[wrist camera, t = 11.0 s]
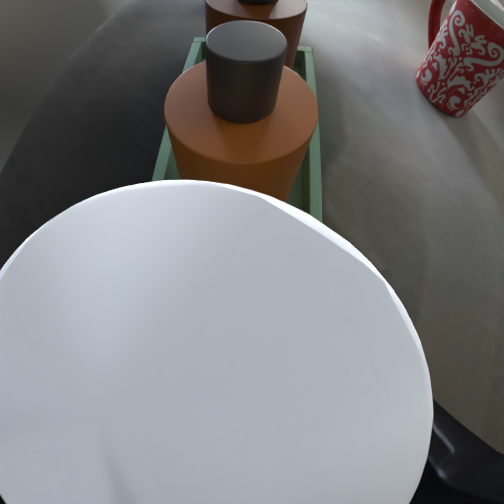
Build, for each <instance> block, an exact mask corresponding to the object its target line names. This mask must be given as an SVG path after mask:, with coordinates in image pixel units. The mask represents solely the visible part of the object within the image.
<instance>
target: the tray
mask: <svg viewBox="0 0 504 504" xmlns="http://www.w3.org/2000/svg"><path fill="white" fill-rule="evenodd" d="M203 61H206V59H205V38H200V37H195V38H194V41H193V44H192V46H191V49H190V52H189V55H188V58H187V60H186V63H185V66H184V69H183V72H182V74H183V73H184V72H185V71H187V70H188V69H189V68H191V67H193V66H195V65H196V64H199V63H201V62H203ZM292 70H293V71H294V72H296V73H297V74H298V75H299V76H300V77H302V78H303V80H304V81H305V82H306V83H307V84H308V85H309V87H310V88H311V89H312V91H313V93H314V95H315V98H316V101H317V92H316V80H315V69H314V59H313V49H312V48H308V47H303V46H298V48H297V52H296V56H295V60H294V65H293V69H292ZM162 180H180V177H179V173H178V169H177V165H176V162H175V158H174V154H173V150H172V146H171V142H170V138H169V134H168V130H167V126H166V127H165V131H164V135H163V138H162V142H161V146H160V150H159V154H158V158H157V162H156V166H155V170H154V174H153V178H152V182H155V181H162ZM286 204H289V205H291V206H293V207H295V208H297V209H299V210H301V211H303V212H305V213H307V214H309V215H310V216H312V217H313V218H315V219H316V220H318V221H319V222H321V223H322V187H321V158H320V137H319V120H318V121H317V125H316V128H315V131H314V133H313V136H312V138H311V141H310V143H309V146H308V148H307V151H306V153H305V156H304V158H303V161H302V163H301V166H300V168H299V171H298V173H297V176H296V178H295V181H294V183H293V186H292V188H291V191H290V193H289V196H288V198H287V200H286Z"/></svg>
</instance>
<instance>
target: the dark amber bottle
mask: <svg viewBox="0 0 504 504" xmlns="http://www.w3.org/2000/svg"><path fill="white" fill-rule="evenodd" d="M205 9H206V36H207V34H208V33H209V32H210V31H211V30H212V29H213V28H215V27H217V26H219V25H221V24H224V23H227V22H232V21H255V22H260V23H264V24H267V25H270V26H272V27H274V28H276V29H277V30H279V31H280V32H281V33H282V34H283V35H284V37H285V38H286V41H287V45H288V46H287V52H286V56H285V61H284V66H286V67H288V68H290V69H291V70H292V69H293V65H294V60H295V56H296V52H297V48H298V44H299V39H300V35H301V31H302V27H303V23H304V18H305V14H306V10H307V1H306V0H205Z"/></svg>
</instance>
